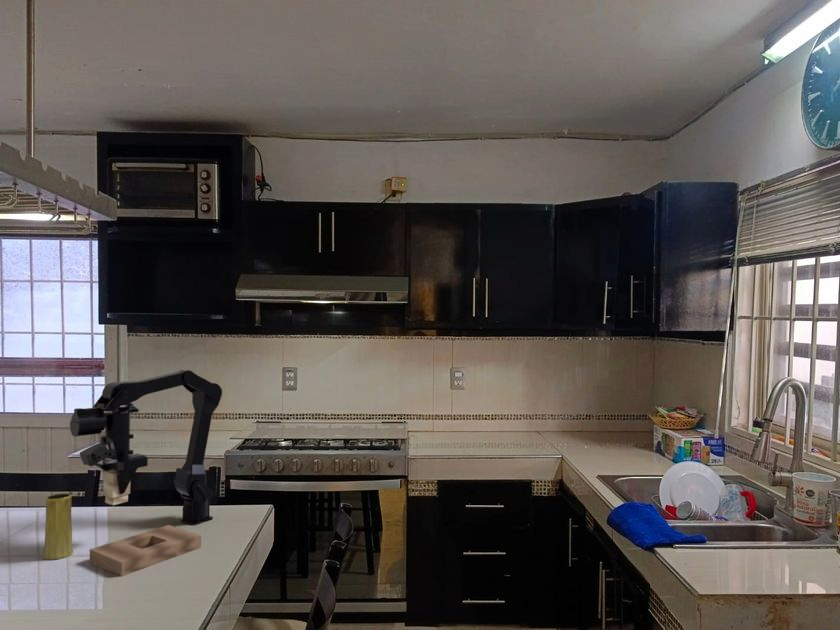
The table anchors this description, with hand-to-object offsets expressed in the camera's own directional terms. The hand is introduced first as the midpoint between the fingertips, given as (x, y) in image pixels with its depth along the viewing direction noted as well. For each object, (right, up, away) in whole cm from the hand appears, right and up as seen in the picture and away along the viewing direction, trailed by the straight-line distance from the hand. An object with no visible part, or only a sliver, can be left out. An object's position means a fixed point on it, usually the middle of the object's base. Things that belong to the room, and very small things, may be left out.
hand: (116, 492), depth 145 cm
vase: (-10, -13, -8) cm, 18 cm away
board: (+12, -13, -8) cm, 19 cm away
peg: (0, -3, 0) cm, 2 cm away
